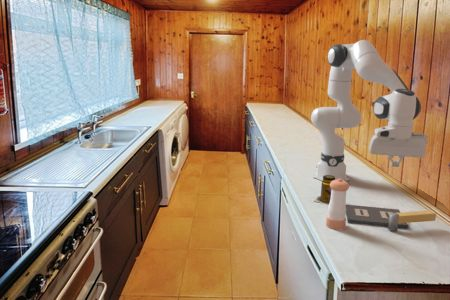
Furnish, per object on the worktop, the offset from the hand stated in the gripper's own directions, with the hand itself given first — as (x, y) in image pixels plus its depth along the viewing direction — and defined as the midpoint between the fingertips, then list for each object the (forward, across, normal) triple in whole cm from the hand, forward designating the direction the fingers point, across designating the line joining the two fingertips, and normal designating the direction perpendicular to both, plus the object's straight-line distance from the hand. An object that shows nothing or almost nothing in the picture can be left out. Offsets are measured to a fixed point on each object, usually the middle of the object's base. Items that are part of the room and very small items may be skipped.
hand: (394, 166), depth 147 cm
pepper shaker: (+22, +21, +12) cm, 33 cm away
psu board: (+22, +5, 0) cm, 23 cm away
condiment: (+23, +24, -14) cm, 36 cm away
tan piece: (+22, -7, +8) cm, 24 cm away
